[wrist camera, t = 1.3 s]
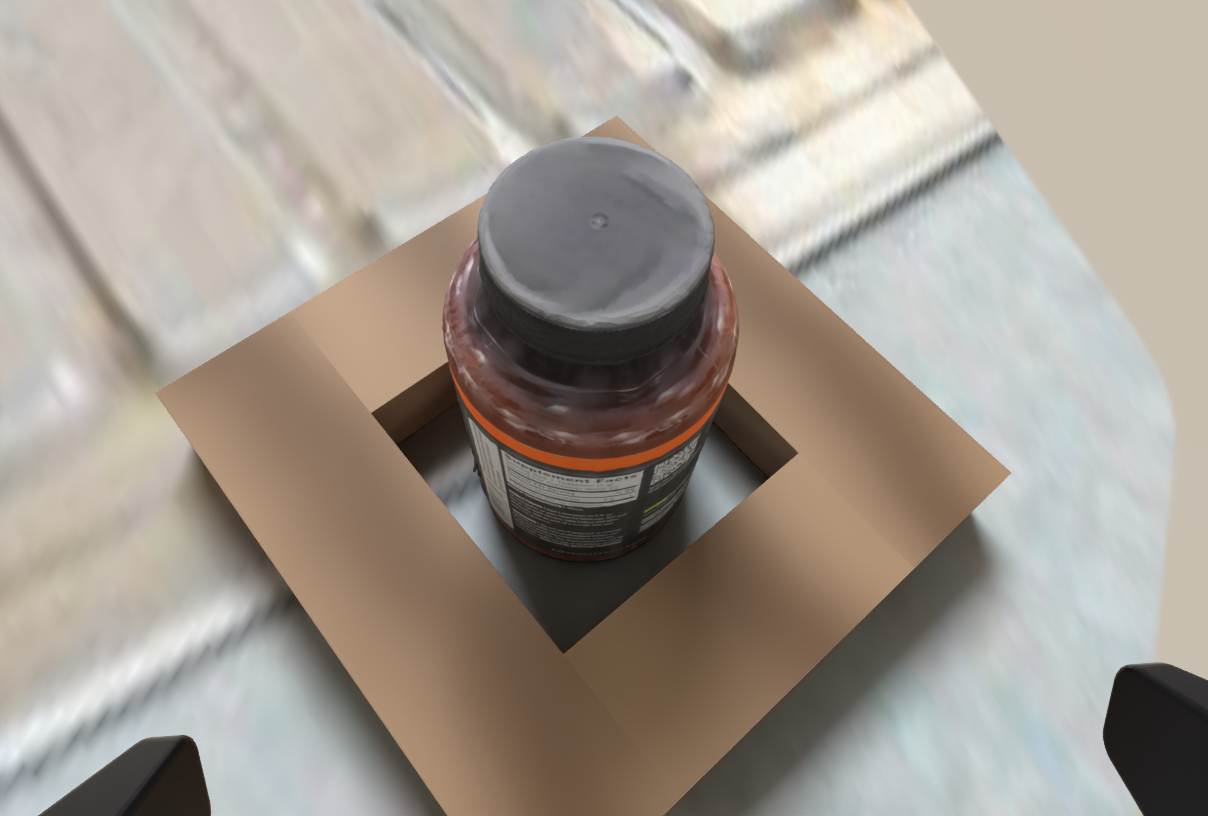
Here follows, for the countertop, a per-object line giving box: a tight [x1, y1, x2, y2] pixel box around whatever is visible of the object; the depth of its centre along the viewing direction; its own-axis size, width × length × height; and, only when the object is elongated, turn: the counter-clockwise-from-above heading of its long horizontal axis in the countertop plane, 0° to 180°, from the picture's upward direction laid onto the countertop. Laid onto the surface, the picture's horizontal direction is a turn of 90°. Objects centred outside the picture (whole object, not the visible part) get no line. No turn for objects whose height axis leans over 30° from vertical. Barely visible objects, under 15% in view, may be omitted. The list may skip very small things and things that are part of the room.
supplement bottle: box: [442, 137, 739, 562], centre depth 18 cm, size 6×6×11 cm
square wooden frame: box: [156, 116, 1011, 816], centre depth 22 cm, size 16×16×2 cm
